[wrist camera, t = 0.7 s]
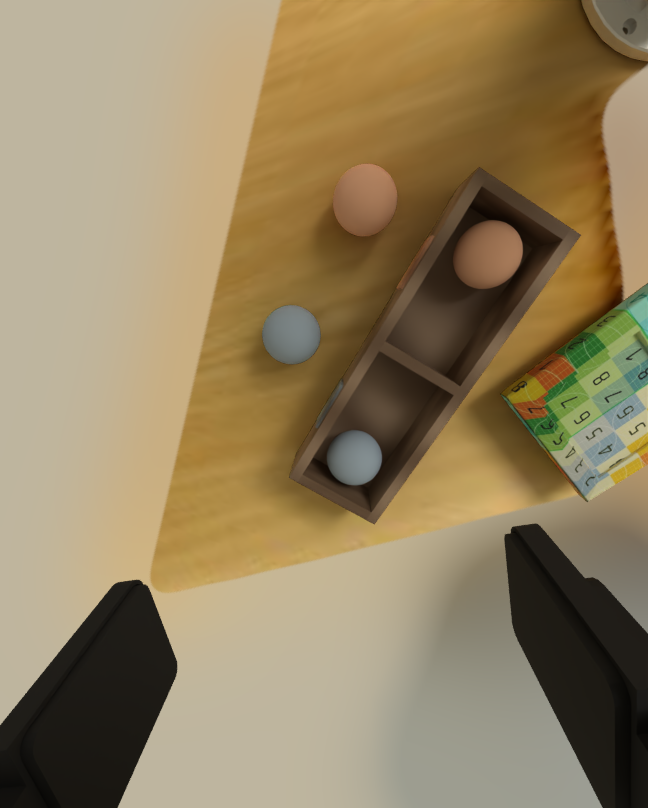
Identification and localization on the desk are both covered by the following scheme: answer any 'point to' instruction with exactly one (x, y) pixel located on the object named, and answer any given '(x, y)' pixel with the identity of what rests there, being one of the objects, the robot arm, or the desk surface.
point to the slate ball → (291, 334)
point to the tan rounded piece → (487, 254)
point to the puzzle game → (592, 400)
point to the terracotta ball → (365, 199)
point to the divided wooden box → (430, 345)
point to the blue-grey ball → (354, 457)
